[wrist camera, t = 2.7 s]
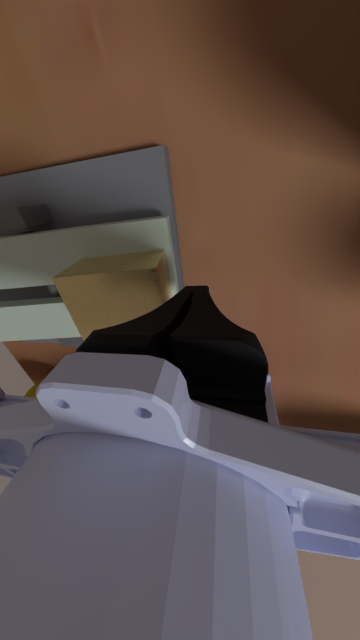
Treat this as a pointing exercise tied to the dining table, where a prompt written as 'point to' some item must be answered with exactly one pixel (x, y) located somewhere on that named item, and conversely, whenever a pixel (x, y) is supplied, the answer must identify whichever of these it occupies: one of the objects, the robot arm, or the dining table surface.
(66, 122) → the dining table surface
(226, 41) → the dining table surface
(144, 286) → the tan block
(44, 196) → the pivot stand
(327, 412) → the dining table surface
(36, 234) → the beam
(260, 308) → the dining table surface
